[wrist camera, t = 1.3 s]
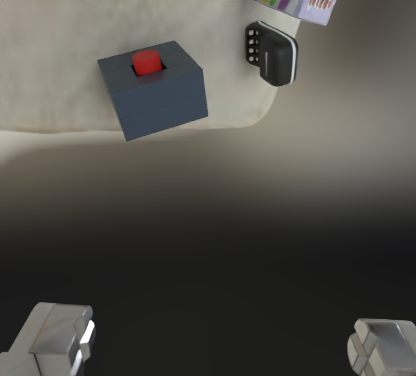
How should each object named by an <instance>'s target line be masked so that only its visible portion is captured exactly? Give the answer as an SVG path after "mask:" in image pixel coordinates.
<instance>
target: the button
mask: <svg viewBox="0 0 416 376" xmlns="http://www.w3.org/2000/svg"><path fill="white" fill-rule="evenodd" d="M132 60H133V64H134V67H135V71H136V75H137V77H140V76H143V75H147V74H151V73H154V72H158V71H162V65H161V60H160V56H159V52H158V51H155V50H145V51H141V52H138V53H136V54H135V55H133V57H132Z"/></svg>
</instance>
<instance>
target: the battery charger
mask: <svg viewBox="0 0 416 376" xmlns="http://www.w3.org/2000/svg"><path fill="white" fill-rule="evenodd" d="M298 53H299V49H298V44H297V42H296V40H295V39H294V38H292V37H291V36H289V35H288V34H286V33H284V32H282V31H280V30H278V29H276V28H273V27H271V26H269V25H267V24H266V23H264V22H263V21H257V22H255V23H252V24H250V25H249V26H248V27H247V28H246V60H247V61H248V62H249V63H250V64H252V65H255V66H258V67H260V76H261V77H262V78H263V79H264V80H265V81H267V82H268V83H269V84H271V85H273V86H276V87H278V86H282V85H286V84H291V83H292V82H294V81H295V79H296V76H297V66H298Z"/></svg>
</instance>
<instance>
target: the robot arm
mask: <svg viewBox="0 0 416 376" xmlns="http://www.w3.org/2000/svg"><path fill="white" fill-rule="evenodd" d="M92 314H93V313H92V308H91V306H83V305H70V304H57V303H38V304H37V305H36V306H35V307H34V309H33V310H32V312H31V314H30V316H29V317H28V319H27V321H26V323H25V324H24V326H23V328H22V330H21V331H20V333H19V334H18V336H17V338H16V340H15V341H14V343H13V345H12V346H11V348H10V350H9V352H3V353H1V354H0V376H83V375H84V372H85V368H84V361H85V360H86V359H87V358H88V357H90V355H91V352H92V349H93V345H94V340H95V324H94V323H93V322H92V321H91V317H92ZM355 330H356V333H354V334H353V335H351V336H350V338H349V341H348V356H349V361H350V364H351V366H352V369H354V370H355V372H356V373H357V374H359V375H360V376H416V327H415V325H414V324H413V323H411V322H410V321H397V320H383V319H359V320H357V321H356V324H355Z"/></svg>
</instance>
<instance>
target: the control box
mask: <svg viewBox="0 0 416 376" xmlns="http://www.w3.org/2000/svg"><path fill="white" fill-rule="evenodd" d="M145 50H155V51H158V52H159V56H160V60H161V65H162V71H158V72H154V73H151V74H147V75H143V76H140V77H137V75H136V71H135V67H134V64H133V60H132V57H133V55H135V54H136V53H138V52H141V51H145ZM97 61H98V64H99V67H100V69H101V72H102V75H103V78H104V81H105V84H106V87H107V90H108V93H109V96H110V99H111V101H112V104H113V107H114V110H115V112H116V115H117V117H118V120H119V123H120V125H121V128H122V131H123V133H124V136H125V138H126V141H130V140H133V139H136V138H140V137H142V136H146V135H149V134H152V133H156V132H159V131H162V130H165V129H169V128H172V127H175V126H178V125H182V124H185V123H188V122H191V121H195V120H198V119H201V118H204V117H207V116H208V110H207V101H206V94H205V86H204V78H203V69H202V68H201V67H200V66H199V65H198V64H197V63H196V62H195V61H194V60H193V59H192V58H191V57H190V56H189V55H188V54H187V53H186V52H185V51H184V50H183V49H182V48H181V47H180V46H179V44H178V43H177V42H176V41H171V42H167V43H163V44H159V45H155V46H151V47H148V48H144V49H140V50H136V51H132V52H128V53H124V54H120V55H116V56H112V57H108V58H104V59H100V60H97Z"/></svg>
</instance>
